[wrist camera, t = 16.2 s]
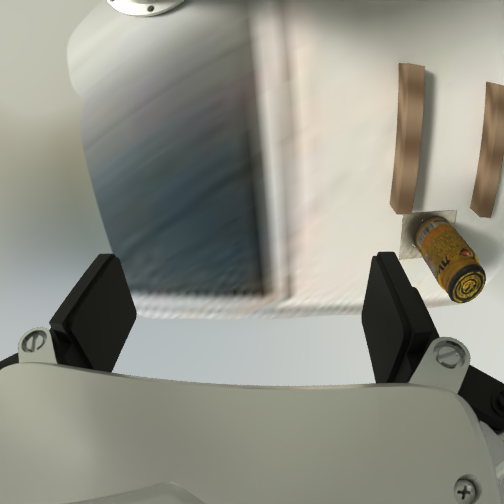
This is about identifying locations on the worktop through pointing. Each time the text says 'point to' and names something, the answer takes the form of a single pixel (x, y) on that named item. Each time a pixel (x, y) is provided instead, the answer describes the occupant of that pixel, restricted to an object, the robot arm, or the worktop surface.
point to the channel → (409, 141)
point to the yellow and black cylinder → (443, 253)
